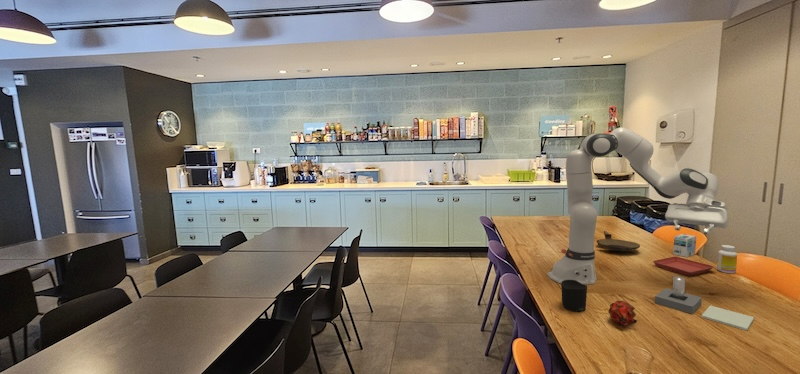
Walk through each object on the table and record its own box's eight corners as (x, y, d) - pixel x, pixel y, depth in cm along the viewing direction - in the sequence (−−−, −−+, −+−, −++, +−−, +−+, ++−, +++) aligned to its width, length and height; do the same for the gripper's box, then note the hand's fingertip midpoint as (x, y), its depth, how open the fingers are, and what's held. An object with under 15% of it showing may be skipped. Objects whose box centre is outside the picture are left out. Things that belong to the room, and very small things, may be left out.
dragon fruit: (623, 318, 129) (624, 338, 119) (602, 303, 131) (602, 321, 122) (639, 305, 125) (642, 325, 115) (618, 290, 127) (619, 308, 117)
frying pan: (595, 253, 198) (596, 241, 197) (596, 240, 224) (596, 229, 223) (641, 259, 187) (642, 245, 186) (637, 244, 212) (637, 232, 211)
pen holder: (562, 311, 134) (562, 287, 132) (560, 300, 142) (560, 278, 141) (588, 314, 130) (589, 290, 129) (584, 303, 139) (585, 280, 138)
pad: (747, 330, 115) (747, 328, 115) (701, 317, 124) (701, 315, 124) (753, 319, 122) (753, 317, 121) (710, 307, 131) (710, 305, 131)
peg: (677, 306, 133) (679, 280, 132) (669, 302, 137) (671, 276, 136) (685, 305, 134) (687, 279, 132) (677, 301, 137) (679, 276, 136)
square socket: (692, 314, 127) (692, 306, 127) (654, 303, 137) (655, 296, 136) (701, 304, 134) (701, 297, 133) (664, 294, 144) (665, 287, 143)
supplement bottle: (739, 274, 161) (741, 248, 159) (723, 273, 162) (725, 248, 161) (729, 269, 167) (730, 244, 166) (713, 268, 169) (715, 244, 167)
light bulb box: (686, 257, 185) (688, 239, 184) (672, 254, 191) (673, 236, 190) (695, 254, 190) (697, 235, 189) (681, 251, 196) (682, 233, 195)
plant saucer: (651, 266, 176) (651, 260, 176) (674, 261, 181) (675, 255, 181) (690, 278, 159) (690, 272, 158) (714, 272, 164) (715, 266, 164)
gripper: (668, 198, 150) (659, 223, 146) (730, 203, 134) (723, 231, 129) (670, 207, 153) (662, 231, 149) (732, 212, 137) (725, 240, 132)
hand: (691, 231), depth 139 cm, fingers open, 8 cm apart
